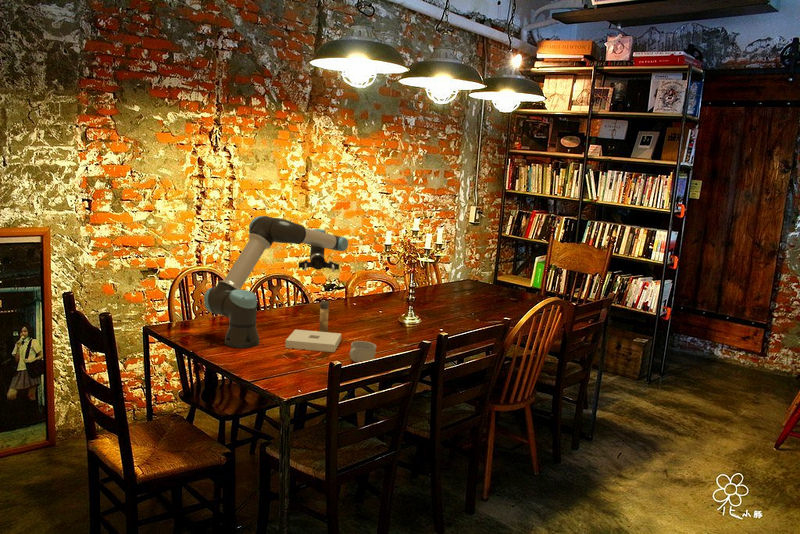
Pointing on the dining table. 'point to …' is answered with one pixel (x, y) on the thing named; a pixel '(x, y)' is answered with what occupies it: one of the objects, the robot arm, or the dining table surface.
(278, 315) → the dining table surface
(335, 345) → the beige socket block
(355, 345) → the teacup
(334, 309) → the dining table surface
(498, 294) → the dining table surface
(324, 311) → the plug
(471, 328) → the dining table surface
